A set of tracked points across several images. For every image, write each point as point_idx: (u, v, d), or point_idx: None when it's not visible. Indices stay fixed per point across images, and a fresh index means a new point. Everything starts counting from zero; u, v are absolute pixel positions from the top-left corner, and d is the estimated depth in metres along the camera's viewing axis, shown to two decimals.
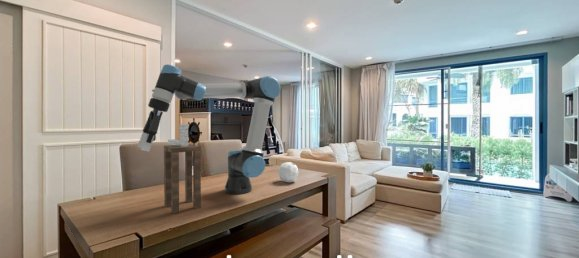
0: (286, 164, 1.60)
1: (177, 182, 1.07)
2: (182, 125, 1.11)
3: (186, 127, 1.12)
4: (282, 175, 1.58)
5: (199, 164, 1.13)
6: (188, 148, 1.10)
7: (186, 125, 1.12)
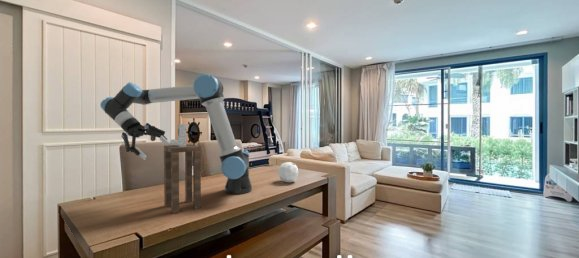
0: (286, 164, 1.60)
1: (177, 182, 1.07)
2: (180, 125, 1.10)
3: (184, 127, 1.11)
4: (282, 175, 1.58)
5: (199, 164, 1.13)
6: (188, 148, 1.10)
7: (184, 125, 1.11)
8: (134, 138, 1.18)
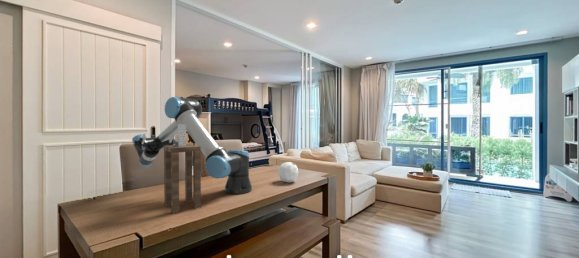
0: (286, 164, 1.60)
1: (177, 182, 1.07)
2: (179, 125, 1.10)
3: (184, 127, 1.11)
4: (282, 175, 1.58)
5: (199, 164, 1.13)
6: (188, 148, 1.10)
7: (184, 125, 1.11)
8: None
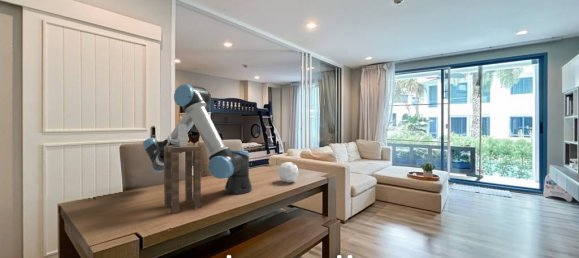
0: (286, 164, 1.60)
1: (177, 182, 1.07)
2: (181, 125, 1.10)
3: (185, 127, 1.11)
4: (282, 175, 1.58)
5: (199, 164, 1.13)
6: (188, 148, 1.10)
7: (185, 125, 1.11)
8: None
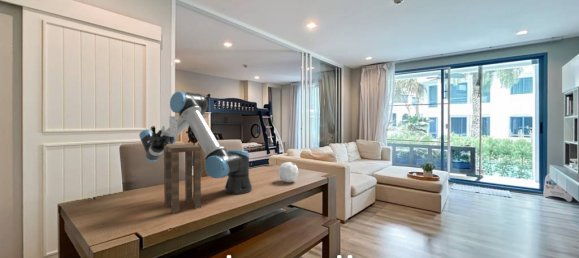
0: (286, 164, 1.60)
1: (177, 182, 1.07)
2: (172, 117, 1.22)
3: (176, 119, 1.23)
4: (282, 175, 1.58)
5: (199, 164, 1.13)
6: (188, 148, 1.10)
7: (176, 117, 1.23)
8: None
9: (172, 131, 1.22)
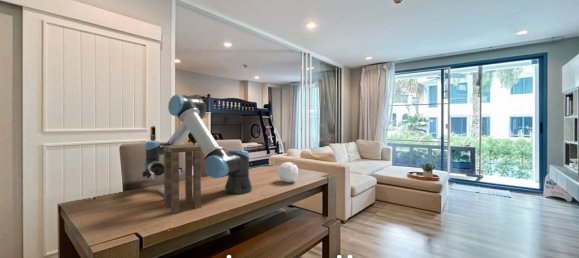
0: (286, 164, 1.60)
1: (177, 182, 1.07)
2: None
3: None
4: (282, 175, 1.58)
5: (199, 164, 1.13)
6: (188, 148, 1.10)
7: None
8: (153, 169, 1.38)
9: None
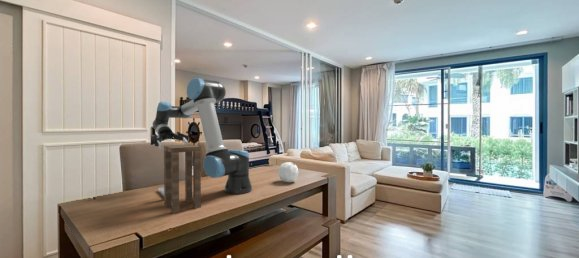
0: (286, 164, 1.60)
1: (177, 182, 1.07)
2: None
3: None
4: (282, 175, 1.58)
5: (199, 164, 1.13)
6: (188, 148, 1.10)
7: None
8: (160, 137, 1.42)
9: None
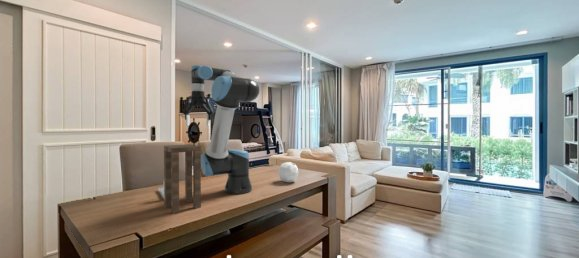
0: (286, 164, 1.60)
1: (177, 182, 1.07)
2: None
3: None
4: (282, 175, 1.58)
5: (199, 164, 1.13)
6: (188, 148, 1.10)
7: None
8: (190, 107, 1.55)
9: None
